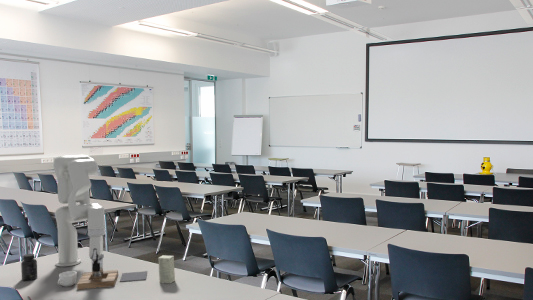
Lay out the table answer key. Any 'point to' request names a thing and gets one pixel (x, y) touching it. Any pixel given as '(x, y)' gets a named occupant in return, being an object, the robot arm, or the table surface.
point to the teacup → (67, 278)
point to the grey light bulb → (100, 273)
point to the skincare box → (166, 269)
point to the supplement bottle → (29, 267)
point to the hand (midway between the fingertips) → (97, 269)
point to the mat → (133, 276)
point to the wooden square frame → (97, 280)
